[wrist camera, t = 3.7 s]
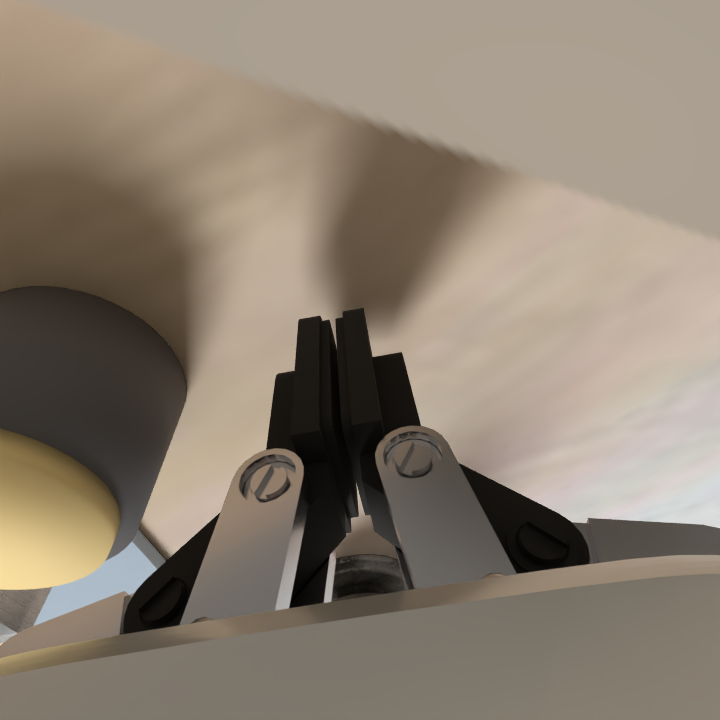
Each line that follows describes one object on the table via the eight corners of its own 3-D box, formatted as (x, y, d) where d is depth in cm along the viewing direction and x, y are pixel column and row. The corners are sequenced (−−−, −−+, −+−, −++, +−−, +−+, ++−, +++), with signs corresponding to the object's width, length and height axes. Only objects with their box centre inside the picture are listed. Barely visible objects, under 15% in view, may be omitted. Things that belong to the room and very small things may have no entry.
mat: (129, 519, 17) (124, 533, 17) (219, 622, 23) (217, 634, 23) (-107, 557, 17) (-119, 571, 17) (42, 648, 24) (36, 661, 23)
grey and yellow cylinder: (130, 266, 11) (18, 400, 7) (215, 428, 15) (175, 577, 11) (-93, 307, 11) (-324, 459, 7) (46, 456, 15) (-56, 611, 11)
